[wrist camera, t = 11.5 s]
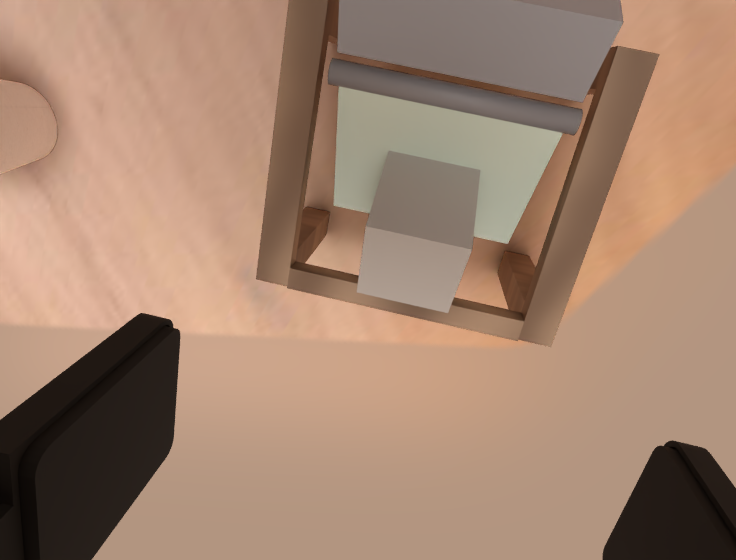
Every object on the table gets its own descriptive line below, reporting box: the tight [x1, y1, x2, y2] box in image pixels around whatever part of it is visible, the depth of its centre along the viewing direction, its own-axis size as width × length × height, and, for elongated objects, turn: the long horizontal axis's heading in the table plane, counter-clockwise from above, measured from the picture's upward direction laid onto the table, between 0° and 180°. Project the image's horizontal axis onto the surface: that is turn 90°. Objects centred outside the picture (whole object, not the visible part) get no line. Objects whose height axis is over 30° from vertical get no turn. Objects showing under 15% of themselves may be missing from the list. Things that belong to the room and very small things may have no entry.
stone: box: [357, 151, 480, 313], centre depth 27 cm, size 5×5×6 cm
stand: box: [256, 0, 659, 347], centre depth 30 cm, size 17×15×11 cm
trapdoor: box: [328, 0, 623, 244], centre depth 26 cm, size 12×14×3 cm
